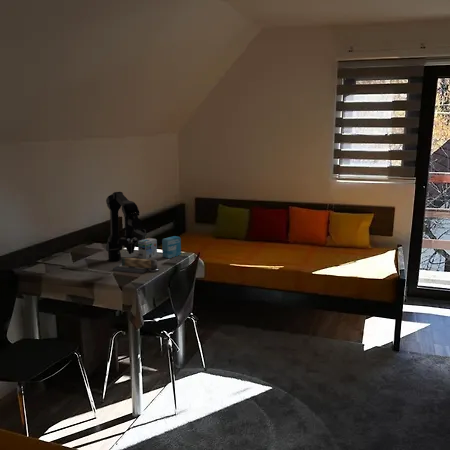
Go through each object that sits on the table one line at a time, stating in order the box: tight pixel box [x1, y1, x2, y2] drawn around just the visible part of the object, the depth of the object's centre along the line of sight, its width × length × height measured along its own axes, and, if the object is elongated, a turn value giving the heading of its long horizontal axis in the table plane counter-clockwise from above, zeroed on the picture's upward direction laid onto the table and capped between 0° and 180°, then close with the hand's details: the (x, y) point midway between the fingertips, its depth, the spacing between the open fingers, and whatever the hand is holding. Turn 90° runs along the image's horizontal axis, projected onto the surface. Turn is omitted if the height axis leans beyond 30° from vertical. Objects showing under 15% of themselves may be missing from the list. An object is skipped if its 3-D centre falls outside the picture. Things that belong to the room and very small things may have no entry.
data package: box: [161, 235, 182, 259], centre depth 300 cm, size 12×4×12 cm, turn 141°
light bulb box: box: [137, 237, 158, 260], centre depth 299 cm, size 11×7×11 cm, turn 148°
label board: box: [112, 262, 149, 274], centre depth 275 cm, size 19×12×1 cm, turn 74°
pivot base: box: [148, 267, 160, 273], centre depth 271 cm, size 6×6×1 cm
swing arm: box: [121, 257, 158, 269], centre depth 273 cm, size 21×4×5 cm, turn 74°
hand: (131, 253), depth 265 cm, fingers open, 2 cm apart
